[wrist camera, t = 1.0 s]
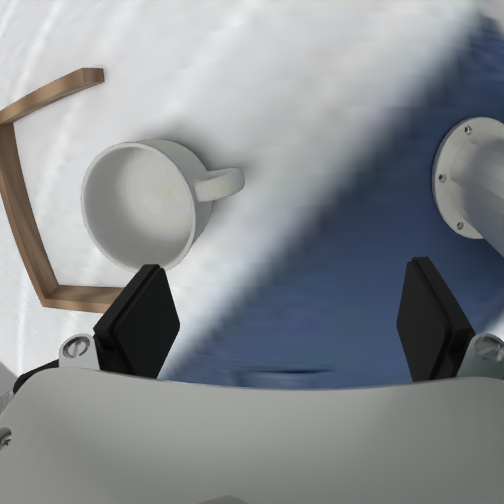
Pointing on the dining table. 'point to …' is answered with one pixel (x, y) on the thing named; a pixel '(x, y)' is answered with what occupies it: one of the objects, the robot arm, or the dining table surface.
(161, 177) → the teacup
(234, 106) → the dining table surface
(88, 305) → the walnut bay
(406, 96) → the dining table surface
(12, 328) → the dining table surface
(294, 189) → the dining table surface
